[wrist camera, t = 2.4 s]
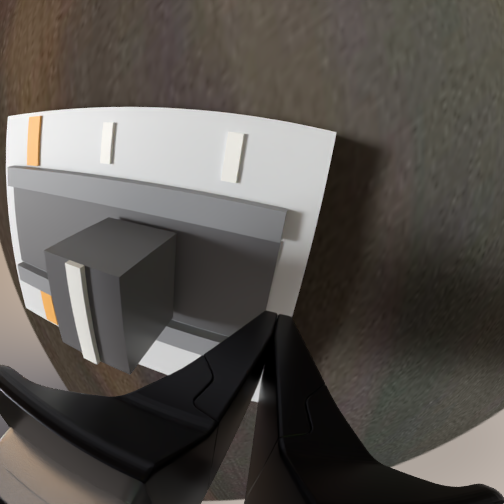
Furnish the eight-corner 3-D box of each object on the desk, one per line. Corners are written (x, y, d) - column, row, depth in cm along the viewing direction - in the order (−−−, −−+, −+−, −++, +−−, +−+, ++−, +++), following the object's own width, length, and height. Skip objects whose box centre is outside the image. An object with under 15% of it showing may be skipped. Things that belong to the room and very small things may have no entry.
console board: (271, 375, 15) (262, 411, 12) (44, 294, 17) (21, 311, 14) (332, 133, 10) (337, 131, 8) (33, 114, 12) (1, 117, 10)
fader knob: (173, 317, 11) (127, 378, 8) (112, 296, 12) (59, 344, 8) (176, 233, 10) (114, 280, 7) (108, 217, 10) (39, 252, 7)
